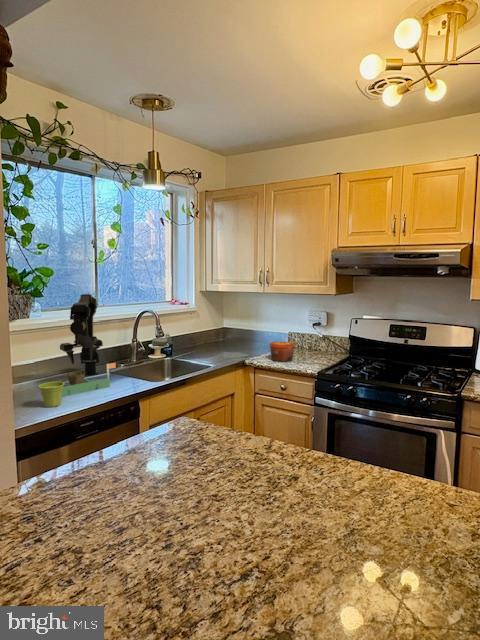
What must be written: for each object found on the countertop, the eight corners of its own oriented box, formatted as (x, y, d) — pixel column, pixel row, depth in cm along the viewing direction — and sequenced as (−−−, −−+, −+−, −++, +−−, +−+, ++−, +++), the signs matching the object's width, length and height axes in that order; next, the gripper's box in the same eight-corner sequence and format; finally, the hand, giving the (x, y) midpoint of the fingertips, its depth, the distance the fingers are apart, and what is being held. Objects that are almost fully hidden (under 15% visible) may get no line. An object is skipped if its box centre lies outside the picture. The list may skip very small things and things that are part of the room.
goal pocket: (43, 392, 187) (41, 368, 186) (104, 380, 208) (103, 359, 207) (53, 398, 179) (52, 373, 177) (116, 385, 199) (115, 362, 198)
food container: (280, 356, 270) (280, 340, 269) (300, 360, 259) (300, 343, 257) (263, 360, 259) (264, 343, 258) (283, 364, 248) (284, 346, 246)
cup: (64, 390, 191) (63, 373, 190) (77, 386, 198) (76, 369, 197) (75, 392, 188) (75, 375, 187) (88, 388, 194) (88, 371, 193)
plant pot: (60, 408, 165) (59, 387, 164) (36, 409, 164) (35, 388, 163) (68, 401, 174) (67, 381, 173) (45, 402, 174) (44, 381, 173)
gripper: (68, 335, 185) (70, 369, 188) (107, 330, 198) (108, 362, 201) (58, 331, 193) (60, 364, 195) (96, 327, 206) (97, 358, 208)
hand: (82, 362), depth 200 cm, fingers open, 9 cm apart
